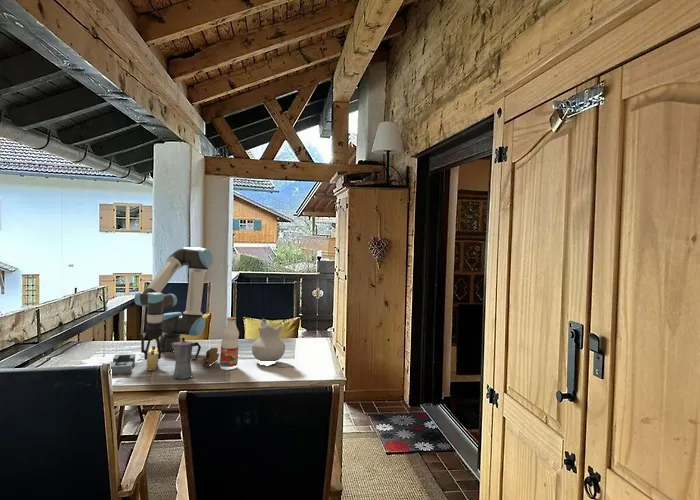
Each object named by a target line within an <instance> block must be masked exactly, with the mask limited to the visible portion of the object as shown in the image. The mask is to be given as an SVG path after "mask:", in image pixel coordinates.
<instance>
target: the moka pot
mask: <svg viewBox="0 0 700 500" xmlns="http://www.w3.org/2000/svg"><path fill="white" fill-rule="evenodd" d="M170 345H171V346H172V348H173V350H174V352H173V353H174V358H175V359H174V360H175V364H174V365H175V366H174V373H173V379H175V378H177V379H176V380H185V379H184V378H187V379H190V378H192V377H193V372H192V363H191V361H193V362H195V361H197V360H198V357H199V354H200V352H201V348H202V346H201V345H200V344H199V343H198V341H195V342H193V341H187V340H186V337H181V341H180V342H174V343H172V344H170ZM193 347H197V350H196V354H195V357H194V358H192V355H193V354H192V353H193ZM191 358H192V359H191ZM191 376H192V377H191ZM189 377H190V378H189Z"/></svg>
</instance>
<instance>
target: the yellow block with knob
mask: <svg viewBox="0 0 700 500" xmlns="http://www.w3.org/2000/svg"><path fill="white" fill-rule="evenodd" d="M157 352H158V348H156V345H152V346H151V347H149V349H148V364H147V363H146V370H147V371H156V370H157V366H156V362H157Z"/></svg>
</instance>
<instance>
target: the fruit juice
mask: <svg viewBox="0 0 700 500" xmlns="http://www.w3.org/2000/svg"><path fill="white" fill-rule="evenodd" d="M236 321H237V317H234V316H230V317H229V316H228V317H227V318H226V322H227V323H226V324H225V327H224V329H222V333H221V335H222V340H221V343H220V354H219V356H220V359H219V367H220V366H221V367H233V366H236V365H237V366H238V361H239V360H238V359H239V347H240V345H239V344H240V343H239V336H240V331H239V330H238V329H239V328H238V327H237V323H236Z"/></svg>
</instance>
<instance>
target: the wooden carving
mask: <svg viewBox="0 0 700 500" xmlns="http://www.w3.org/2000/svg"><path fill="white" fill-rule="evenodd" d="M218 351H219V349H218V348H217V347H211V348H210V349H208V350H207V351H206V353H205V358H203V360H202V361H203V366H205V365H206V366H205V367H209V365H210V364H212V363H213V362H215V361H216V360H217V361H219V356H220V353H218ZM215 363H216V362H215Z"/></svg>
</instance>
